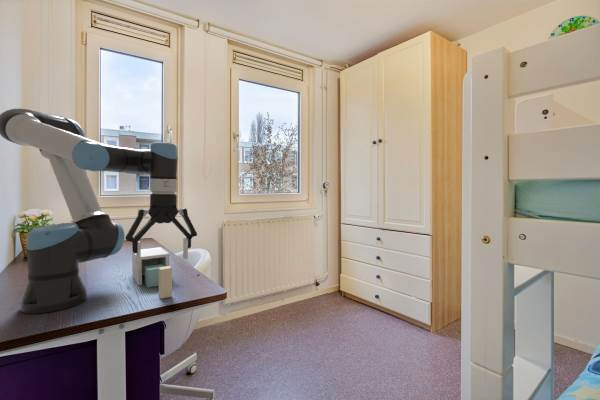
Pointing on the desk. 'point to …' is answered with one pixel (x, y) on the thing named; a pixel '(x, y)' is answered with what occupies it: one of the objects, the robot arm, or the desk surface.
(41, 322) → the desk surface
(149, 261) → the white open box
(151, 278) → the tethered block
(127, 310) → the desk surface
